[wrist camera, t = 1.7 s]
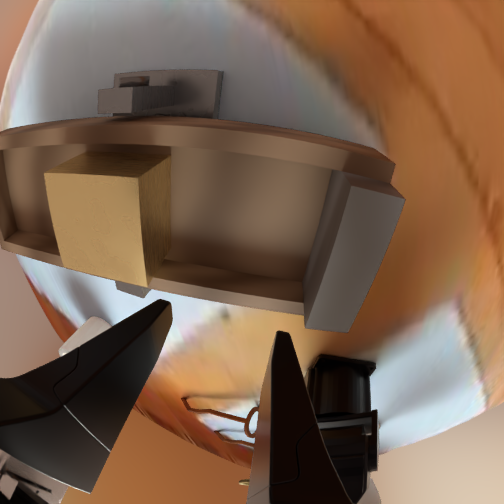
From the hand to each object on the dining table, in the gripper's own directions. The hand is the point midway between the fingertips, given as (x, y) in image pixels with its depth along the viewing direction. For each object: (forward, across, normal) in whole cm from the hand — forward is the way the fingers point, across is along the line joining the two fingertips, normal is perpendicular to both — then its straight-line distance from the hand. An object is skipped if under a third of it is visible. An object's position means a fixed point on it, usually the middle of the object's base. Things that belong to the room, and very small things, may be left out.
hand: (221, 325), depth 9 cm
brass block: (+7, +8, 0) cm, 11 cm away
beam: (+8, +8, 0) cm, 12 cm away
